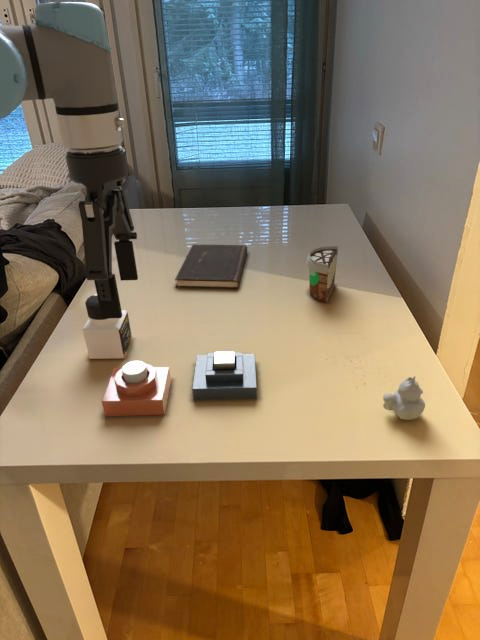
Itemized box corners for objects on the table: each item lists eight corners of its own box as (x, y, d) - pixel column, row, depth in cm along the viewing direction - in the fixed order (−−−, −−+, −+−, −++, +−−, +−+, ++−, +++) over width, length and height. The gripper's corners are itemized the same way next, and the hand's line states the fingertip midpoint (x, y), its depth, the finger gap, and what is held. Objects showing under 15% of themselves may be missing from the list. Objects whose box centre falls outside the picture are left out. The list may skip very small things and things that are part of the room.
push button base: (193, 399, 81) (191, 381, 79) (197, 365, 89) (196, 348, 87) (256, 398, 80) (256, 380, 78) (254, 363, 89) (254, 346, 87)
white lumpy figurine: (426, 427, 73) (435, 387, 69) (383, 424, 74) (390, 385, 70) (418, 404, 78) (426, 365, 74) (378, 402, 79) (384, 364, 75)
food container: (311, 279, 119) (313, 242, 114) (335, 282, 117) (338, 245, 112) (299, 301, 109) (300, 262, 104) (325, 305, 107) (327, 265, 102)
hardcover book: (175, 287, 118) (174, 279, 116) (193, 251, 137) (192, 244, 136) (238, 289, 116) (238, 280, 115) (247, 252, 135) (247, 245, 134)
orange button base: (104, 416, 78) (99, 392, 75) (116, 382, 85) (112, 360, 83) (164, 414, 78) (161, 391, 75) (171, 380, 85) (168, 358, 83)
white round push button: (121, 384, 78) (119, 374, 76) (126, 370, 81) (124, 360, 80) (145, 384, 77) (143, 374, 76) (149, 369, 81) (147, 359, 80)
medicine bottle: (125, 359, 92) (114, 306, 85) (89, 359, 92) (76, 306, 86) (132, 339, 98) (123, 288, 92) (99, 339, 98) (87, 288, 92)
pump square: (214, 371, 81) (213, 363, 81) (215, 359, 85) (214, 351, 84) (234, 371, 81) (234, 363, 81) (234, 359, 85) (234, 351, 84)
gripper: (100, 168, 50) (130, 339, 61) (140, 131, 70) (157, 264, 81) (30, 170, 50) (73, 340, 61) (90, 132, 70) (114, 265, 81)
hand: (121, 296), depth 71 cm, fingers open, 11 cm apart
